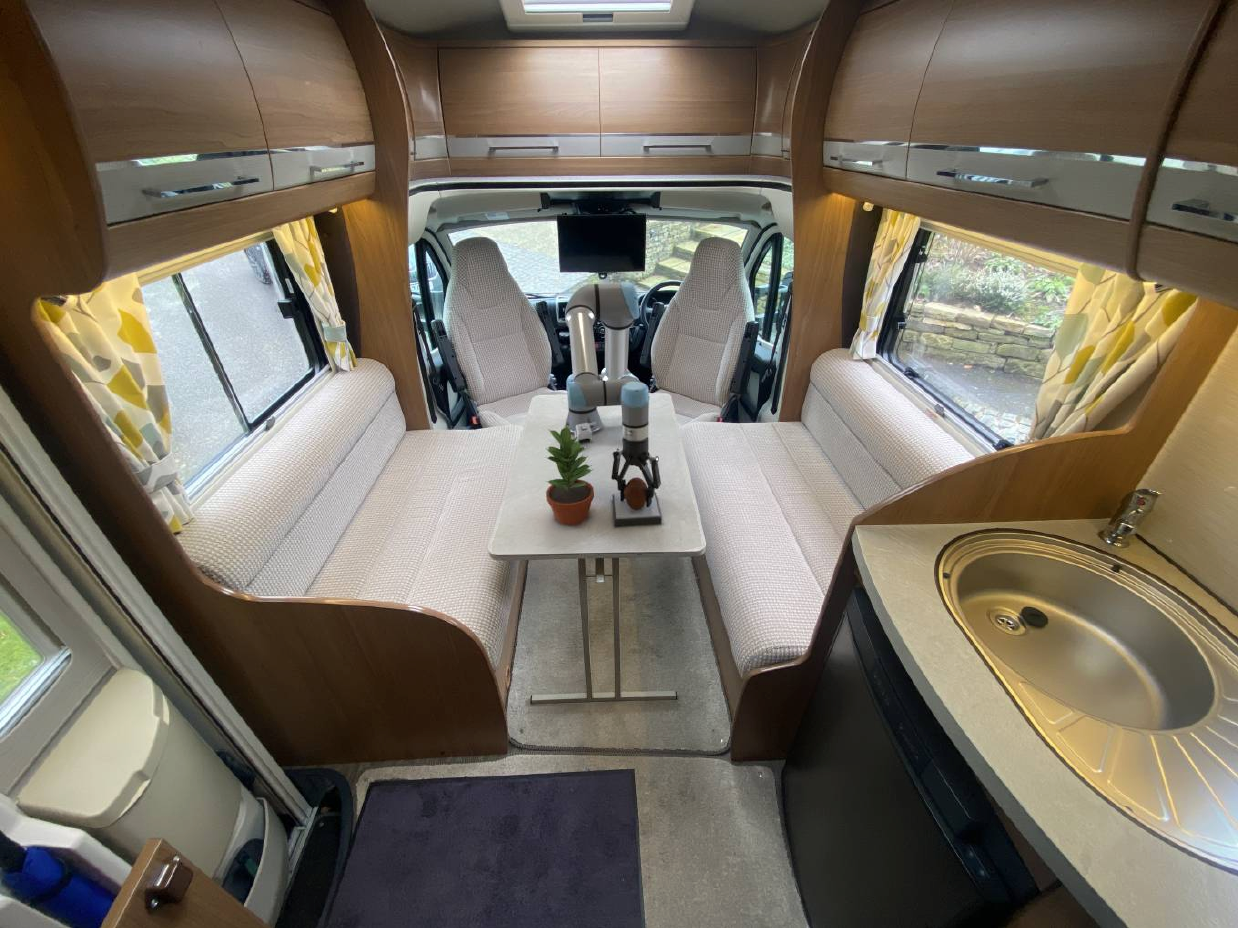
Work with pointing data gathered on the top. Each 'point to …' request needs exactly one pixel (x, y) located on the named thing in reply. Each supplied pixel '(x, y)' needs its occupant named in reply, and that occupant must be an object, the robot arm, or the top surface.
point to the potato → (635, 493)
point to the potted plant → (569, 481)
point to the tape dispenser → (583, 433)
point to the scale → (635, 513)
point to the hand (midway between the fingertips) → (636, 502)
